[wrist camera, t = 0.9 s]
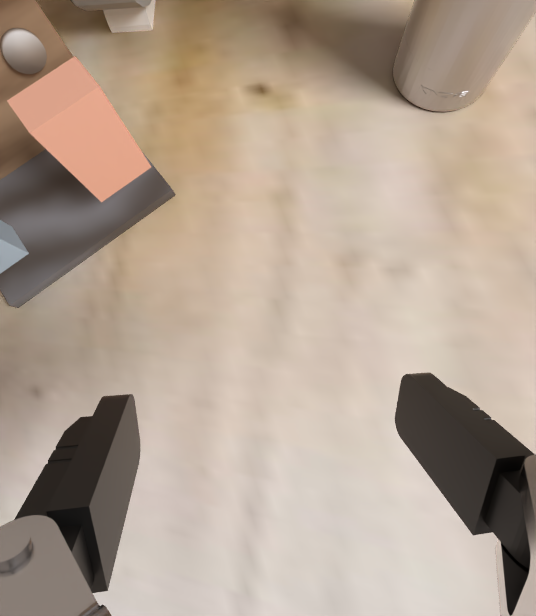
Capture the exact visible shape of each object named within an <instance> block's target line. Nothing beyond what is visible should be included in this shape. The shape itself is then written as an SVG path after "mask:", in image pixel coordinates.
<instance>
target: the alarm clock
mask: <svg viewBox="0 0 536 616" xmlns="http://www.w3.org/2000/svg"><path fill="white" fill-rule="evenodd" d="M71 1H72V2H73V4H74V5H75V6H77V7H79V8H81V9H83V10H85V11H94V10H103V12H104V15H105V18H106V21H107V23H108V26H109V28H110V30H111V32H112V33H118V32H134V31H150V30H153V21H154V11H155V1H156V0H71Z"/></svg>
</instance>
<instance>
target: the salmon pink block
mask: <svg viewBox="0 0 536 616" xmlns="http://www.w3.org/2000/svg"><path fill="white" fill-rule="evenodd" d="M7 102H8V103H9V105H10V106H11V108H12V109H13V110H14V112H15V113H16V115H17V116H18V117H19V119H20V120H21V122H22V123H23V125H24V126H25V127H26V129H27V130H28V132H29V133H30V134H31V135H32V136H33V137H34V138H35V139H36V140H37V141H38V142H39V143H40V144H41V145H42V146H43V147H44V148H46V149H47V150H48V151H49V152H50V153H51V154H52V155H53V156H54V157H55V158H56V159H57V160H58V161H59V162H60V163H61V164H62V165H63V166H64V167H65V168H66V169H67V170H68V171H69V172H70V173H72V174H73V175H74V176H75V177H76V178H77V179H78V180H79V181H80V182H81V183H82V184H83V185H84V186H85V187H86V188H87V189H88V190H89V191H90V192H91V193H92V194H93V195H94V196H95V197H96V198H98V199H99V200H100V201H101V202H103V201H104V200H106V199H107V198H109V197H110V196H111V195H113V194H114V193H116V192H117V191H118V190H120V189H121V188H123V187H124V186H126V185H127V184H128V183H130V182H131V181H133V180H134V179H136V178H137V177H138V176H140V175H141V174H143V173H144V172H145V171H147V170H148V169H150V168H151V165H150V164H149V162H148V161H147V159H146V158H145V156H144V154H143V153H142V151H141V150H140V148H139V147H138V145H137V144H136V142H135V140H134V139H133V137H132V136H131V134H130V133H129V131H128V130H127V128H126V126H125V125H124V123H123V122H122V120H121V119H120V117H119V116H118V114H117V112H116V111H115V109H114V108H113V106H112V105H111V103H110V102H109V100H108V98H107V97H106V95H105V94H104V92H103V91H102V89H101V88H100V86H99V85H98V84H97V82H96V81H95V80H94V79H93V77H92V76H91V75H90V74H89V72H88V71H87V70H86V69H85V67H84V66H83V65H82V64H81V62H80V61H79V60H78V59H77V57H76V56H74V57H73V58H71V59H70V60H68V61H67V62H65V63H63V64H62V65H60V66H59V67H57V68H56V69H54V70H53V71H51V72H50V73H48V74H47V75H45V76H44V77H42V78H41V79H39V80H38V81H36V82H35V83H33V84H32V85H30V86H29V87H27V88H25V89H24V90H22V91H21V92H19V93H18V94H16V95H15V96H13V97H12V98H10V99H9V100H7Z"/></svg>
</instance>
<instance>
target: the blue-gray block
mask: <svg viewBox="0 0 536 616" xmlns="http://www.w3.org/2000/svg"><path fill="white" fill-rule="evenodd" d="M28 254H29V253H28V251H27V250H26V248H25V246H24V245H23V243H22V242H21V240H20V238H19V237H18V235H17V234H16V232H15V231H14V229H13V227H12V226H10V225H8V224H6V223H5V222H3V221H1V220H0V274H1V273H2V272H3V271H5V270H6V269H8V268H9V267H10V266H12V265H13V264H15V263H16V262H18V261H19V260H20V259H22V258H23V257H25V256H26V255H28Z"/></svg>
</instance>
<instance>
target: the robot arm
mask: <svg viewBox="0 0 536 616" xmlns="http://www.w3.org/2000/svg"><path fill="white" fill-rule="evenodd" d="M535 13H536V0H414V2H413V5H412V9H411V12H410V15H409V18H408V21H407V24H406V27H405V30H404V33H403V36H402V40H401V43H400V46H399V49H398V52H397V55H396V59H395V62H394V67H393V78H394V81H395V84H396V87H397V88H398V90H399V91H400V93H401V94H402V95H403V96H404V97H405V98H406V99H407V100H408V101H410V102H411V103H413V104H415V105H416V106H419V107H421V108H424V109H427V110H432V111H443V112H446V111H453V110H458V109H461V108H464V107H466V106H468V105H470V104H471V103H473V102H474V101H476V100H477V99H478V98H479V97H480V96H481V95H482V93H483V92H484V90H485V89H486V87H487V86H488V84H489V83H490V81H491V80H492V78H493V77H494V75H495V74H496V72H497V71H498V69H499V68H500V66H501V65H502V63H503V62H504V60H505V58H506V57H507V56H508V54H509V53H510V51H511V50H512V48H513V47H514V45H515V43H516V42H517V40H518V39H519V37H520V36H521V34H522V33H523V31H524V30H525V28H526V27H527V25H528V24H529V22H530V20H531V19H532V17H533V16H534V14H535ZM395 424H396V428H397V431H398V434H399V436H400V437H401V439H402V440H403V441H404V443H405V444H406V445H407V447H408V448H409V449H410V451H411V452H412V453H413V455H414V456H415V458H416V459H417V460H418V462H419V463H420V464H421V466H422V467H423V468H424V470H425V471H426V472H427V474H428V475H429V476H430V478H431V479H432V480H433V482H434V483H435V484H436V486H437V487H438V489H439V490H440V491H441V493H442V494H443V495H444V497H445V498H446V499H447V501H448V502H449V503H450V505H451V506H452V507H453V509H454V510H455V511H456V513H457V514H458V515H459V517H460V518H461V519H462V521H463V522H464V524H465V525H466V526H467V528H468V529H469V530H470V532H471V533H472V534H473V535H478V534H484V533H491V532H493V533H494V534H495V535H496V536H497V538H498V541H497V544H496V547H495V554H496V567H497V579H498V592H499V604H500V616H536V455H535V454H534V453H532V452H531V451H530V450H529V449H528V448H526V447H525V446H524V445H523V444H522V443H521V442H519V441H518V440H517V439H516V438H515V437H513V436H512V435H511V434H510V433H509V432H508V431H506V430H505V429H504V428H503V427H502V426H500V425H499V424H498V423H497V422H496V421H495V420H491V417H490V416H489V415H487V414H486V413H485V412H484V411H483V410H480V408H479V407H478V406H477V405H476V404H474V403H473V402H472V401H471V400H470V399H469V398H467V397H466V396H464V395H462V394H460V393H458V392H457V391H455V390H453V389H451V388H449V387H447V386H446V385H444V384H443V383H442V382H441V381H440V380H439V379H438V378H436V377H435V376H434V375H433V374H431V373H417V374H406V375H404V376H403V377H402V380H401V384H400V390H399V396H398V402H397V408H396V414H395ZM139 459H140V436H139V429H138V422H137V415H136V407H135V401H134V397H133V395H132V394H129V395H115V396H103V397H102V398H101V400H100V402H99V404H98V406H97V408H96V410H95V412H94V414H93V416H89V417H80V418H79V419H78V420H77V421H76V422H75V423H74V424H72V425H71V426H70V427H69V428H68V429H67V430H66V431H65V432H64V433H63V435H62V437H61V439H60V440H59V442H58V444H57V446H56V450H54V451H53V453H52V454H51V456H50V458H49V460H48V464H46V465H45V467H44V469H43V470H42V472H41V474H40V476H39V477H38V479H37V481H36V483H35V484H34V486H33V488H32V490H31V491H30V493H29V495H28V497H27V498H26V500H25V502H24V504H23V505H22V507H21V509H20V511H19V512H18V514H17V516H16V518H15V519H14V520H13V521H11V522H9V523H7V524H5V525H3V526H1V527H0V616H111V614H110V613H109V611H108V609H107V608H106V607H105V606H104V605H101V606H99V605H98V603H97V601H96V599H95V598H94V596H93V594H92V593H96V592H102V591H108V587H109V583H110V579H111V575H112V571H113V567H114V563H115V559H116V554H117V550H118V546H119V542H120V538H121V534H122V530H123V526H124V522H125V518H126V514H127V510H128V505H129V501H130V497H131V493H132V489H133V485H134V481H135V477H136V473H137V469H138V465H139Z"/></svg>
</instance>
